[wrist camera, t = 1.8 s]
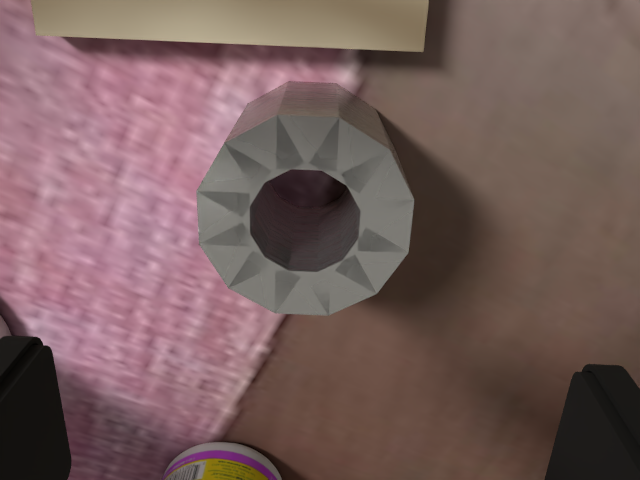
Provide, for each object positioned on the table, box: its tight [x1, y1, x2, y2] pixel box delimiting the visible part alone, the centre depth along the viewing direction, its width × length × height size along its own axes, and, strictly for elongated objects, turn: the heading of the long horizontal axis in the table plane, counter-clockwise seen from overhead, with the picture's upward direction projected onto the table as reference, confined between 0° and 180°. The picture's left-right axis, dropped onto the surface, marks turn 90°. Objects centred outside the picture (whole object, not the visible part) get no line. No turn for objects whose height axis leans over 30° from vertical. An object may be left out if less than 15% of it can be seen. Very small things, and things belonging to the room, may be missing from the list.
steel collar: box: [197, 81, 414, 315], centre depth 22 cm, size 7×7×6 cm
